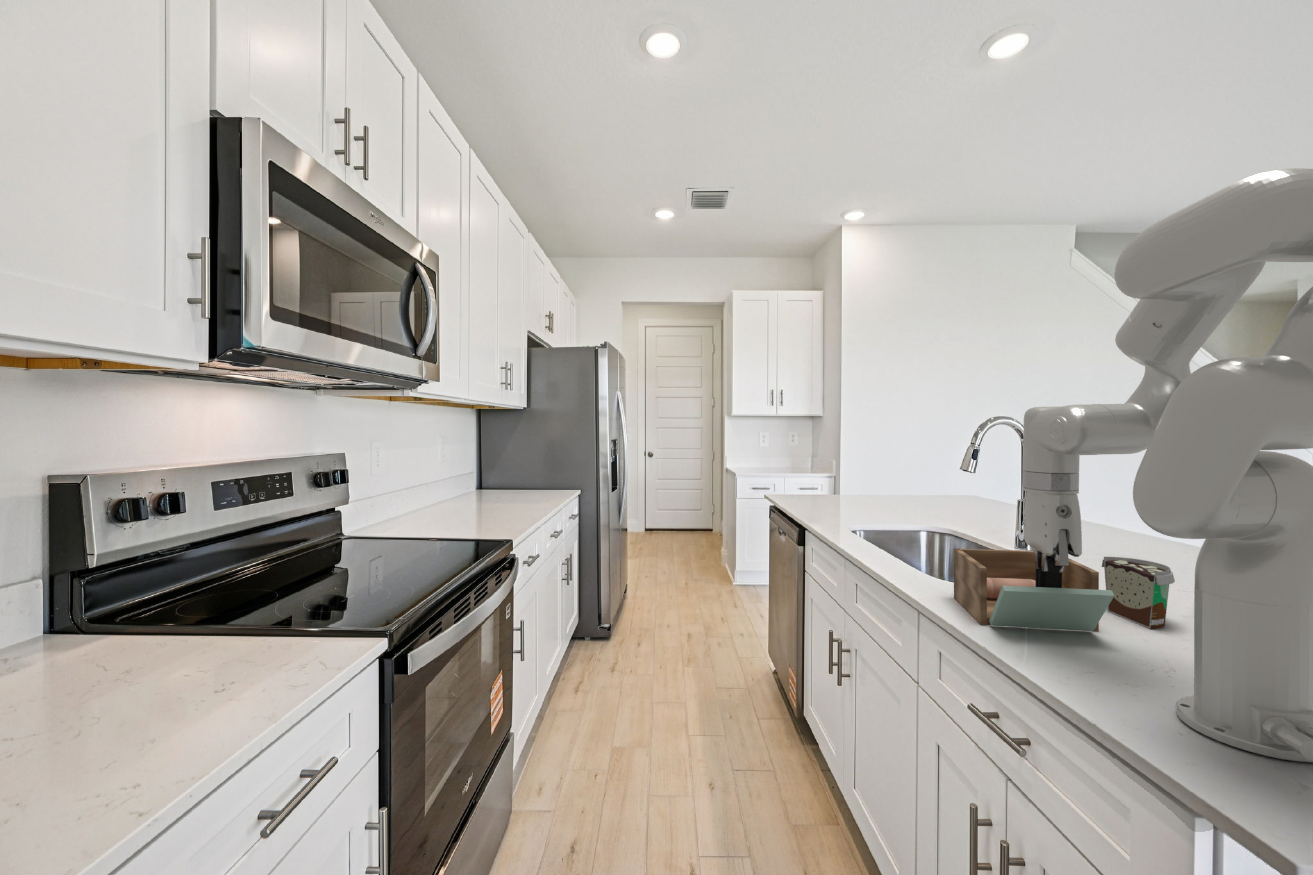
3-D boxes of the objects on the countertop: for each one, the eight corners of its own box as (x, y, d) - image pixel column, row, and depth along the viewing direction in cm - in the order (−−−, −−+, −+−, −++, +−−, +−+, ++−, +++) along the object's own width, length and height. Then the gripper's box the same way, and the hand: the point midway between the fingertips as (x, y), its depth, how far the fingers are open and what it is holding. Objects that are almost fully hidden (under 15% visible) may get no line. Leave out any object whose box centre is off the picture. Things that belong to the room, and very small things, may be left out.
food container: (1195, 632, 95) (1195, 572, 95) (1157, 632, 95) (1158, 572, 95) (1134, 608, 107) (1134, 555, 107) (1101, 608, 107) (1101, 555, 107)
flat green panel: (1093, 631, 95) (1114, 595, 89) (990, 625, 98) (1004, 590, 92) (1090, 626, 96) (1111, 590, 89) (989, 620, 99) (1002, 585, 93)
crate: (1098, 631, 96) (1098, 572, 95) (980, 624, 99) (980, 567, 99) (1054, 602, 111) (1054, 551, 111) (953, 597, 115) (953, 548, 115)
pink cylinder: (1047, 604, 107) (1047, 582, 106) (982, 600, 109) (982, 580, 109) (1037, 597, 110) (1037, 577, 110) (975, 594, 113) (975, 574, 113)
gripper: (1101, 489, 84) (1099, 611, 85) (1055, 477, 99) (1053, 582, 100) (1044, 488, 86) (1042, 608, 87) (1007, 477, 101) (1005, 580, 101)
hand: (1048, 594), depth 93 cm, fingers closed
